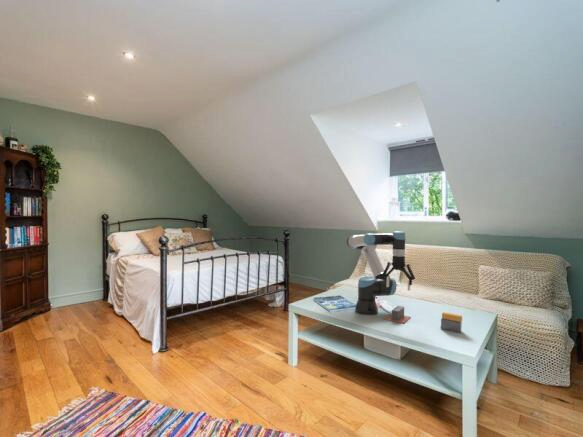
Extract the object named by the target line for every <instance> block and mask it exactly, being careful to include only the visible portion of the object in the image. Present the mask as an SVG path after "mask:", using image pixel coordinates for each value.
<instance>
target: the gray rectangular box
mask: <svg viewBox="0 0 583 437" xmlns="http://www.w3.org/2000/svg"><path fill="white" fill-rule="evenodd" d="M462 323H463V321H462V322H458V321H453V320H448V319H443V318H442V317H441V319H440V330H444V331H448V332H453V333H456V334H457V333H458V334H461V333H462V327H463V326H462Z"/></svg>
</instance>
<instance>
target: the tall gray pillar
mask: <svg viewBox="0 0 583 437" xmlns="http://www.w3.org/2000/svg"><path fill="white" fill-rule="evenodd" d="M391 314H392V320H396V321H399V320H400V319H401V318H402V317H403V316H404V315H405V306H401V305H397V306H396V307H394V308H393V309H391Z"/></svg>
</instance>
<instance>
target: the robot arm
mask: <svg viewBox="0 0 583 437" xmlns="http://www.w3.org/2000/svg"><path fill="white" fill-rule="evenodd" d="M345 242H346V245H347V247H348V248H350V249H352V250H360V251H361V253H362V254H363V255H364V257H365V259H366V261H367V264H368V266H369V268H370V271H371V273H372V275H373V276H362V277H361V278H359V279H358V283H357V302H356V304H355V309H354V310H355V312H356V313H358V314H360V315H364V316H365V315H367V316H369V315H370V316H372V315H377V314H378V313H379V309H378V306H377V302H376V297H386V296H388V297H389V296H393V295H395V293H396V291H397V281H396V280H395V278H393V277H390V275H391V273H393V271H394V270H395V271H402V272H403V273H404V275H405V276H406V278H407V291H410V290H411V286H412V285H413V280H415V279H416V276H415V275H414V273H413V270H412V268H411V264H410V263H405V262H406V257H405V256H406V233H405V231H397V230H395V231H393V232H392V233H388V232H387V233H364V234H351V235H349V236H348V237H347V238H346V241H345ZM386 245H387V246H392V259H391V260H392V262H391V261H388V262H387V263H386V267H383V264H382V262H381V260H380V258H379V255H378V253H377V250H376V249H377V246H386ZM391 266H392V267H391ZM390 267H391V269H390ZM405 267H406V268H405ZM389 269H390V270H389ZM406 269H407V270H406Z"/></svg>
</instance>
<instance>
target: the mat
mask: <svg viewBox="0 0 583 437" xmlns="http://www.w3.org/2000/svg"><path fill="white" fill-rule="evenodd" d="M410 319H412V318H411V316H408V315H405V314H404V316H403V317H402V318H401V319H400V320H399V321H396V320H392V313H391V314H389V315H388V316H386V317H385V318H384V320H385V321H390V322H396V323H399V324H405V323H407V322H408V321H409V320H410Z"/></svg>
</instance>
